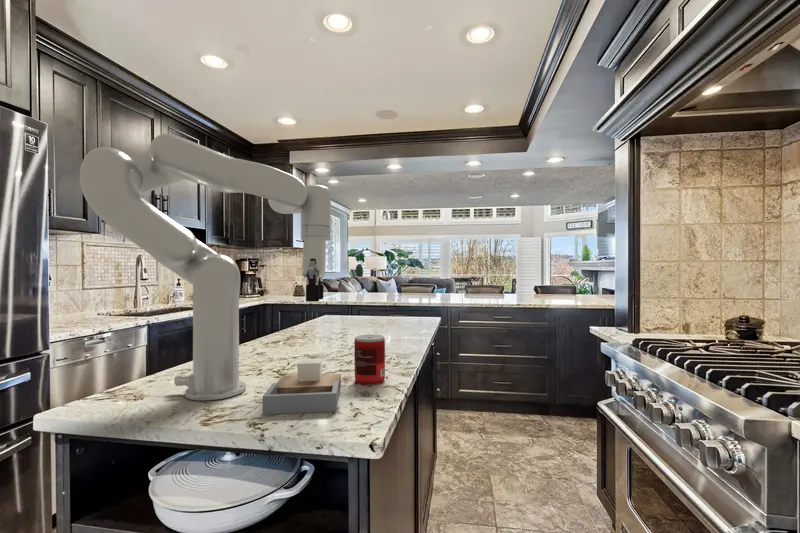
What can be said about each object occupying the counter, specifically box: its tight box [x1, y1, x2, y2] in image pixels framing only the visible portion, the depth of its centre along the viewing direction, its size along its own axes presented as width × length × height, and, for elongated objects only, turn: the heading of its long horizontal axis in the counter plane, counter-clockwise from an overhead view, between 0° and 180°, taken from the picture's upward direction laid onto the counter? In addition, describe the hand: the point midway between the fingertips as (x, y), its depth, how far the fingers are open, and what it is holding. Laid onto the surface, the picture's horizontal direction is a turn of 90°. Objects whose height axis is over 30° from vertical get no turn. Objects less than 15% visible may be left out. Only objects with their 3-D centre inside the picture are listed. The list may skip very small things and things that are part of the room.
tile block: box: [296, 357, 323, 382], centre depth 91 cm, size 5×5×4 cm
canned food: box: [353, 334, 386, 386], centre depth 98 cm, size 8×8×11 cm
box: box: [262, 381, 340, 416], centre depth 79 cm, size 14×9×4 cm, turn 96°
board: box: [276, 373, 342, 394], centre depth 89 cm, size 14×10×2 cm
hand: (315, 300), depth 100 cm, fingers open, 9 cm apart
